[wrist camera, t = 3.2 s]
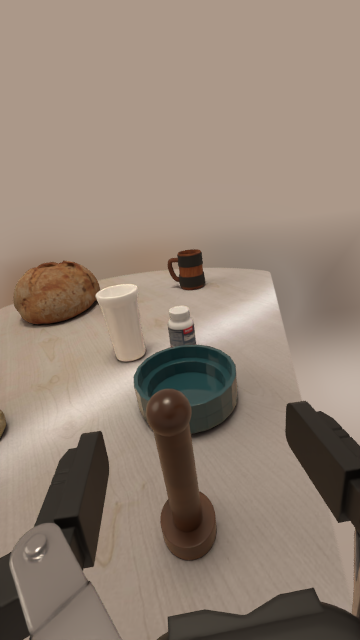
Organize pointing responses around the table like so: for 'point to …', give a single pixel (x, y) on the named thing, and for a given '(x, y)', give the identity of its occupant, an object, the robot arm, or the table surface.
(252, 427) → the table surface
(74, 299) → the bread
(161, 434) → the pestle
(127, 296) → the cup
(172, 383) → the bowl
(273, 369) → the table surface
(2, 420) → the pastry
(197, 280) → the mug
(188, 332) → the pill bottle
